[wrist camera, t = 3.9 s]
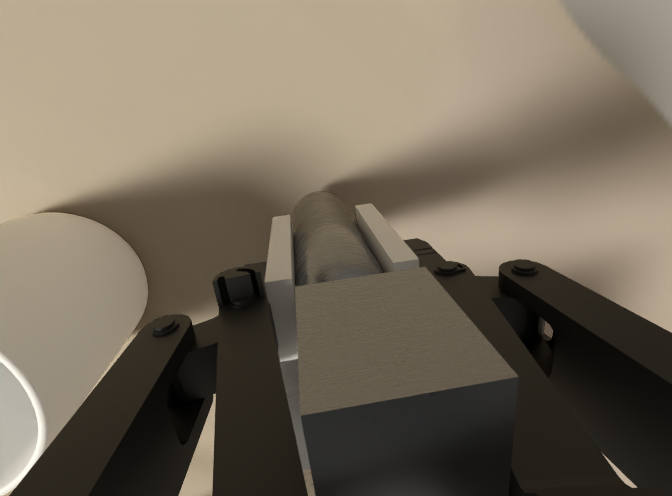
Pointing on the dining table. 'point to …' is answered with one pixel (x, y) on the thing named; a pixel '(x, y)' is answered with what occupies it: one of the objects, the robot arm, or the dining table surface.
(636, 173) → the dining table surface
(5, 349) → the cup
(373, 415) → the wedge pin
